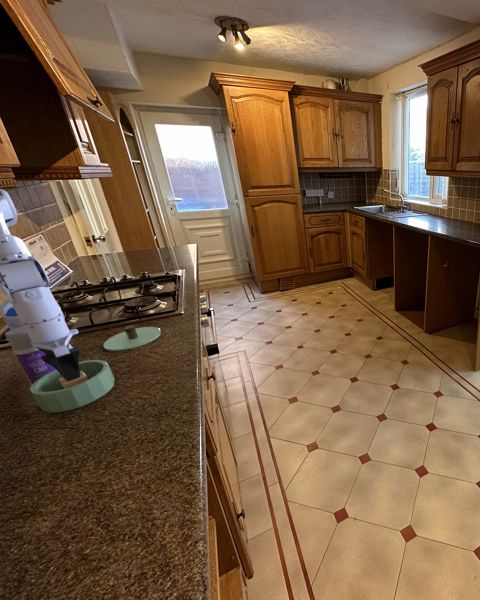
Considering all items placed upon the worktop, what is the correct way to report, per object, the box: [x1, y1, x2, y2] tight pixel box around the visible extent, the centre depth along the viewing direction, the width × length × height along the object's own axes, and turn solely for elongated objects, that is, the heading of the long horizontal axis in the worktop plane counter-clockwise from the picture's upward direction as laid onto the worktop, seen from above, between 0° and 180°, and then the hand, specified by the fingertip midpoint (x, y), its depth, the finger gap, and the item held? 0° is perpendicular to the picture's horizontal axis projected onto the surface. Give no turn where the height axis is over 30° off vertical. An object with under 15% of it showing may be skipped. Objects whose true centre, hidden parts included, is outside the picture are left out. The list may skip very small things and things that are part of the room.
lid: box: [103, 324, 162, 352], centre depth 95 cm, size 14×14×5 cm
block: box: [58, 370, 89, 389], centre depth 73 cm, size 4×4×4 cm
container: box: [4, 326, 56, 386], centre depth 74 cm, size 5×5×15 cm
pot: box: [29, 359, 116, 414], centre depth 73 cm, size 13×13×5 cm
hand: (69, 372), depth 72 cm, fingers open, 7 cm apart
